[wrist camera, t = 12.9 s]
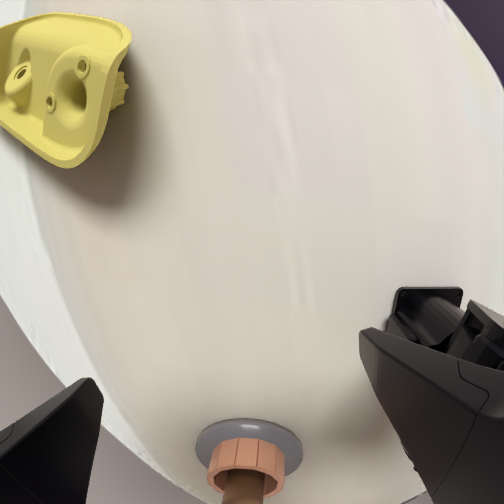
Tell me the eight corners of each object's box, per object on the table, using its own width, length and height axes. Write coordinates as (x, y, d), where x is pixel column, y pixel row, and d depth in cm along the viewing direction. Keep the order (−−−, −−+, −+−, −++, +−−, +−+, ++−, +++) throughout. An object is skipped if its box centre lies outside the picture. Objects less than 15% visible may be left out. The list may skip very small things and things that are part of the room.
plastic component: (-17, 111, 17) (-8, 20, 10) (35, 92, 23) (51, 11, 16) (89, 193, 17) (118, 37, 10) (155, 156, 22) (194, 40, 16)
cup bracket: (309, 420, 24) (312, 455, 20) (295, 477, 27) (295, 506, 22) (192, 412, 25) (180, 445, 20) (202, 470, 27) (194, 498, 23)
